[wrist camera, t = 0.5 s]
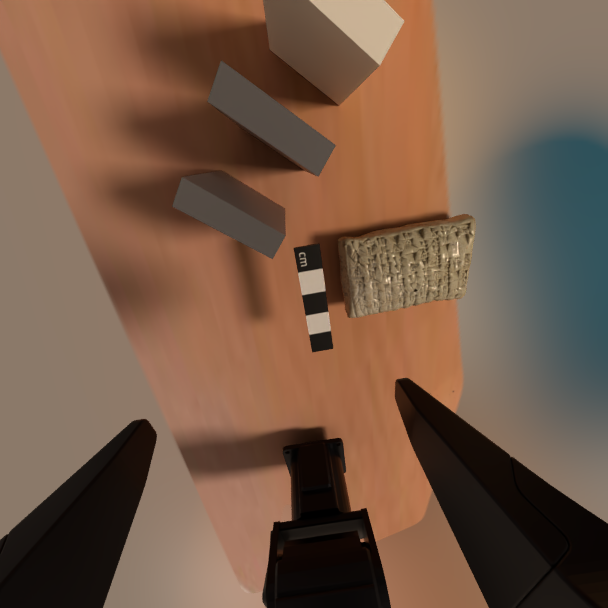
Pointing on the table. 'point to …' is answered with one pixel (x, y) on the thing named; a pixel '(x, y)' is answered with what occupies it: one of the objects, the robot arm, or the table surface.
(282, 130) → the domino
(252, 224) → the domino
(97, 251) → the table surface
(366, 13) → the end domino
